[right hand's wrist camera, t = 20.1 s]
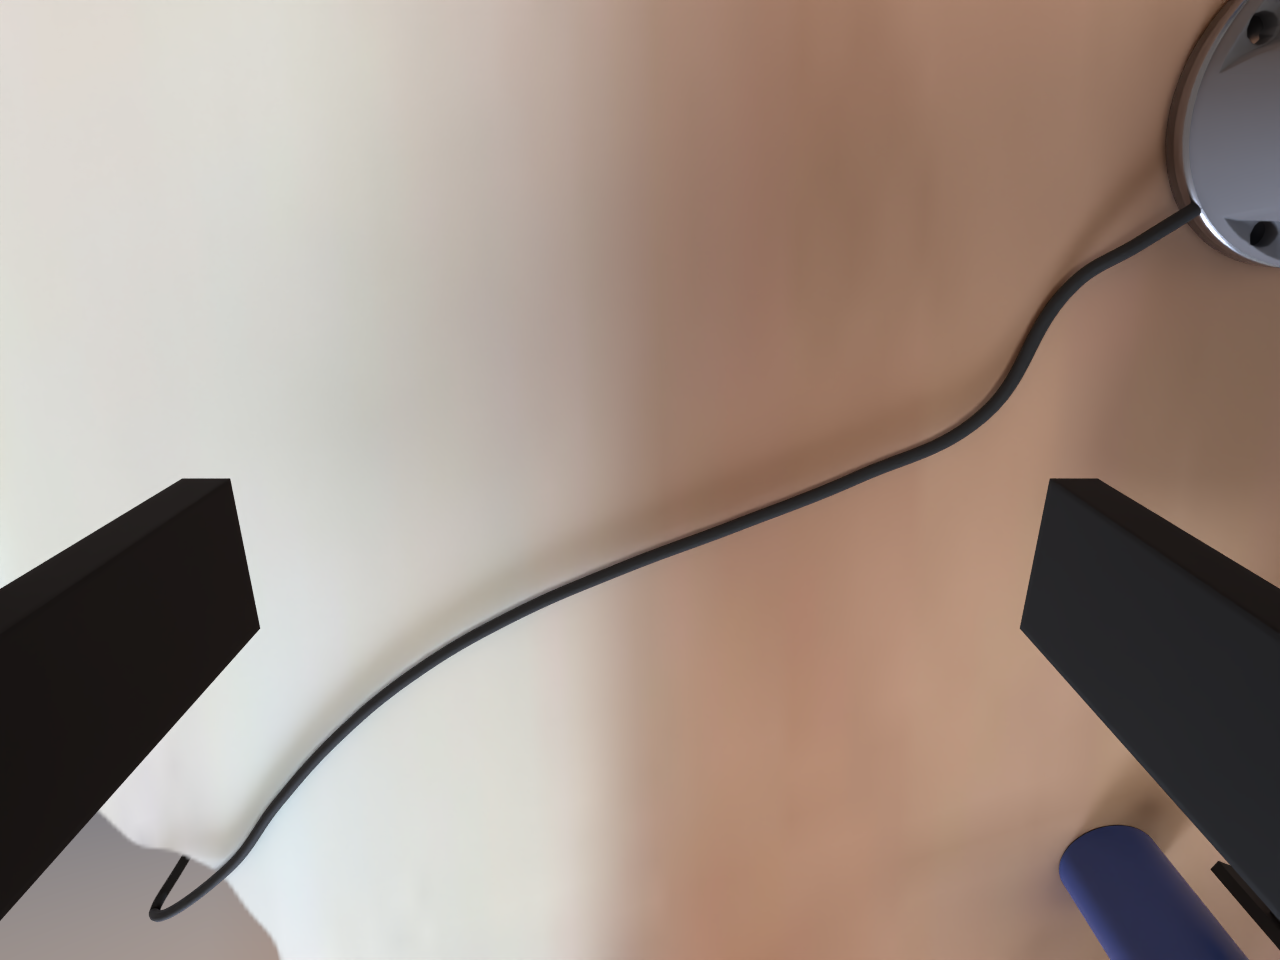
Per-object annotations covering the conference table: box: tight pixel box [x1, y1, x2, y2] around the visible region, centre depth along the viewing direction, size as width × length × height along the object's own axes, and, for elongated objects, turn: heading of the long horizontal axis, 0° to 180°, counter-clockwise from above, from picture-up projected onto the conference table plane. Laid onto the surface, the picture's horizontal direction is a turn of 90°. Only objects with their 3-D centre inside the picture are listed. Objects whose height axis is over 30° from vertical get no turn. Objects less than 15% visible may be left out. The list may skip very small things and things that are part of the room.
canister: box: [1059, 825, 1249, 960], centre depth 50 cm, size 7×7×12 cm
